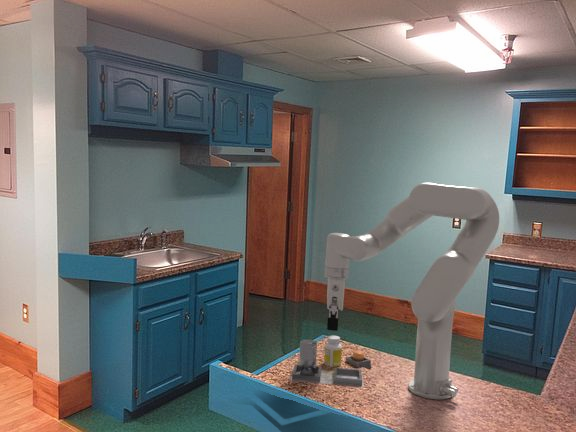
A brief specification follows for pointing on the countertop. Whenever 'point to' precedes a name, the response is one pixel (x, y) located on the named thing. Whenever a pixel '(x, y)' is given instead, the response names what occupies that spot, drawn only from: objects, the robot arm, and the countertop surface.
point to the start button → (358, 355)
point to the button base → (359, 362)
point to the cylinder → (307, 357)
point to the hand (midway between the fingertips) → (332, 325)
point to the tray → (330, 376)
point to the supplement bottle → (333, 352)
